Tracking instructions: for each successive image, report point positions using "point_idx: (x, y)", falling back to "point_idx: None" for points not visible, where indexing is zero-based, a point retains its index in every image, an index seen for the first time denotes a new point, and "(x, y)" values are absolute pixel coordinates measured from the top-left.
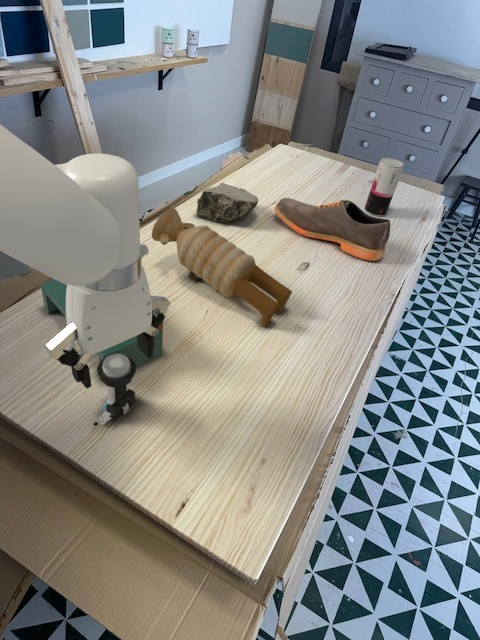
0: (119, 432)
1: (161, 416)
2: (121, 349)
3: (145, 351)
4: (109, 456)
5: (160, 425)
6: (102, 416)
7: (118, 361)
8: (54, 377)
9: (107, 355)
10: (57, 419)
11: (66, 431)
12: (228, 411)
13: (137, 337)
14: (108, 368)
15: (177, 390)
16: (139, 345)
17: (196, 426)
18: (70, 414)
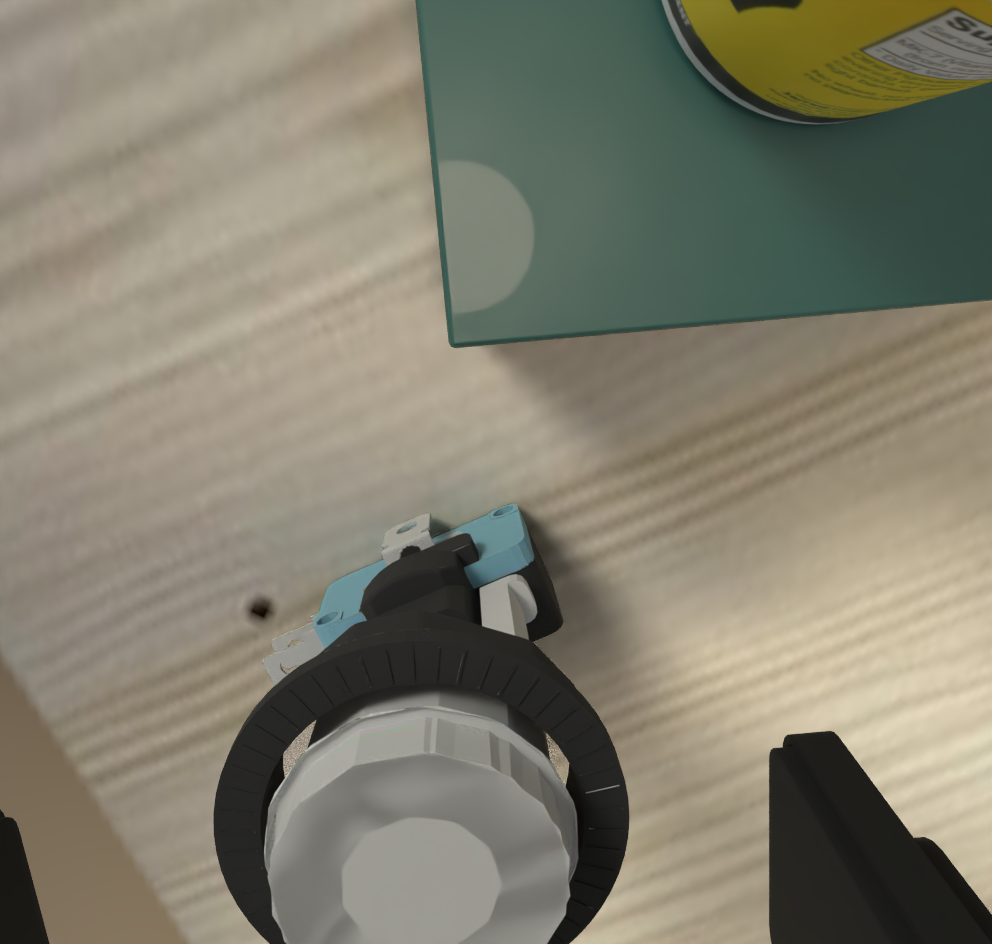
0: None
1: (635, 745)
2: (663, 327)
3: (794, 941)
4: None
5: None
6: (289, 657)
7: (451, 878)
8: (124, 57)
9: (500, 341)
10: (45, 463)
11: (75, 578)
12: (984, 888)
13: (839, 861)
14: (304, 920)
15: (840, 619)
16: (792, 825)
17: (765, 889)
18: (135, 466)
